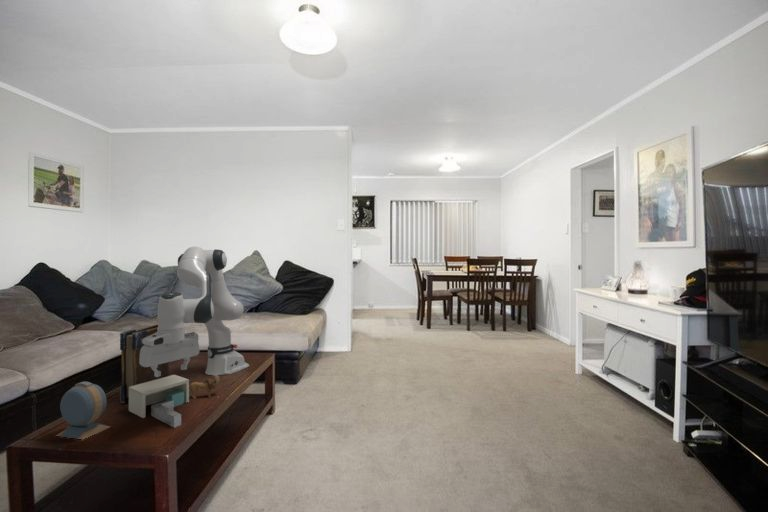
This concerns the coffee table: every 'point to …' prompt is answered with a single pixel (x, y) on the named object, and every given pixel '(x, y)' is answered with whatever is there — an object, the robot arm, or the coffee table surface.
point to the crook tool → (166, 413)
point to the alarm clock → (83, 410)
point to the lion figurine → (204, 385)
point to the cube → (176, 397)
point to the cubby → (155, 392)
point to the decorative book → (136, 361)
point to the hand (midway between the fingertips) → (171, 372)
